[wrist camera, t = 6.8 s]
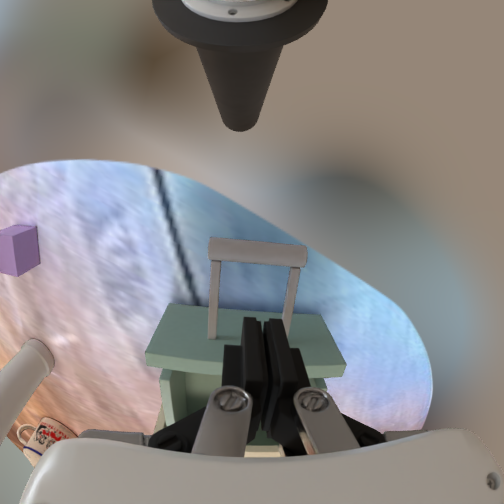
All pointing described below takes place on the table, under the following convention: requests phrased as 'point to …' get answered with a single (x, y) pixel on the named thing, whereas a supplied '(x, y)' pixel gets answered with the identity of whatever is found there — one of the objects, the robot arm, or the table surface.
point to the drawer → (233, 333)
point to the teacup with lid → (43, 438)
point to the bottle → (22, 381)
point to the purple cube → (18, 250)
